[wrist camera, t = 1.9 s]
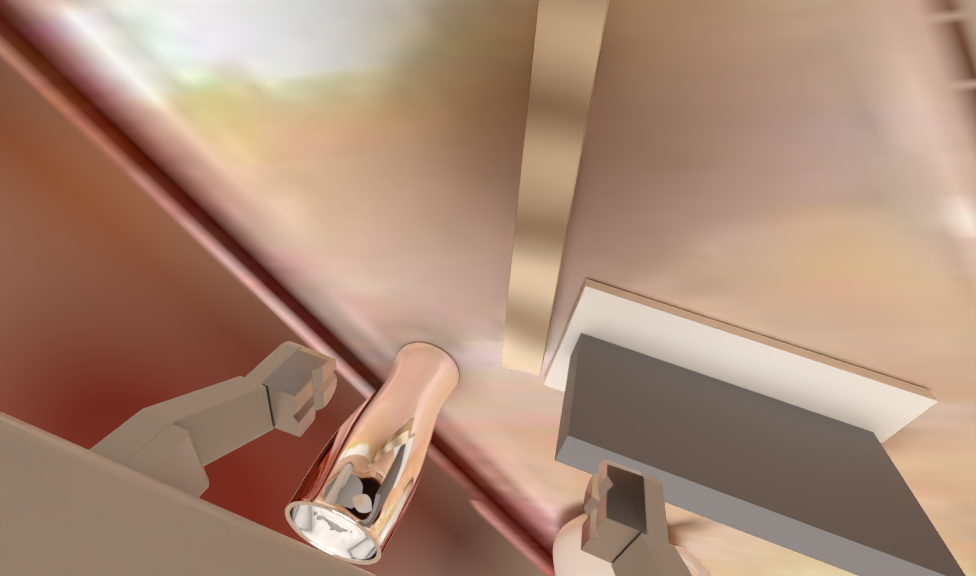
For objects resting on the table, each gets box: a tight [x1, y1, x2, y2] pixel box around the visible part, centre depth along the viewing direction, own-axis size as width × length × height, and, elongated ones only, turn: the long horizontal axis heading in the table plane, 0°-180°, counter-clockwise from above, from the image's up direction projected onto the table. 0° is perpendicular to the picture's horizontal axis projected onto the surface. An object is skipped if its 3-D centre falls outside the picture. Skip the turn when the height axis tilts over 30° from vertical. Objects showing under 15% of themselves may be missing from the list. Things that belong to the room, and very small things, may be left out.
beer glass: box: [285, 342, 459, 565], centre depth 30 cm, size 7×7×15 cm
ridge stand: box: [543, 279, 965, 576], centre depth 25 cm, size 10×22×10 cm, turn 78°
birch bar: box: [501, 0, 610, 376], centre depth 24 cm, size 24×3×3 cm, turn 177°
